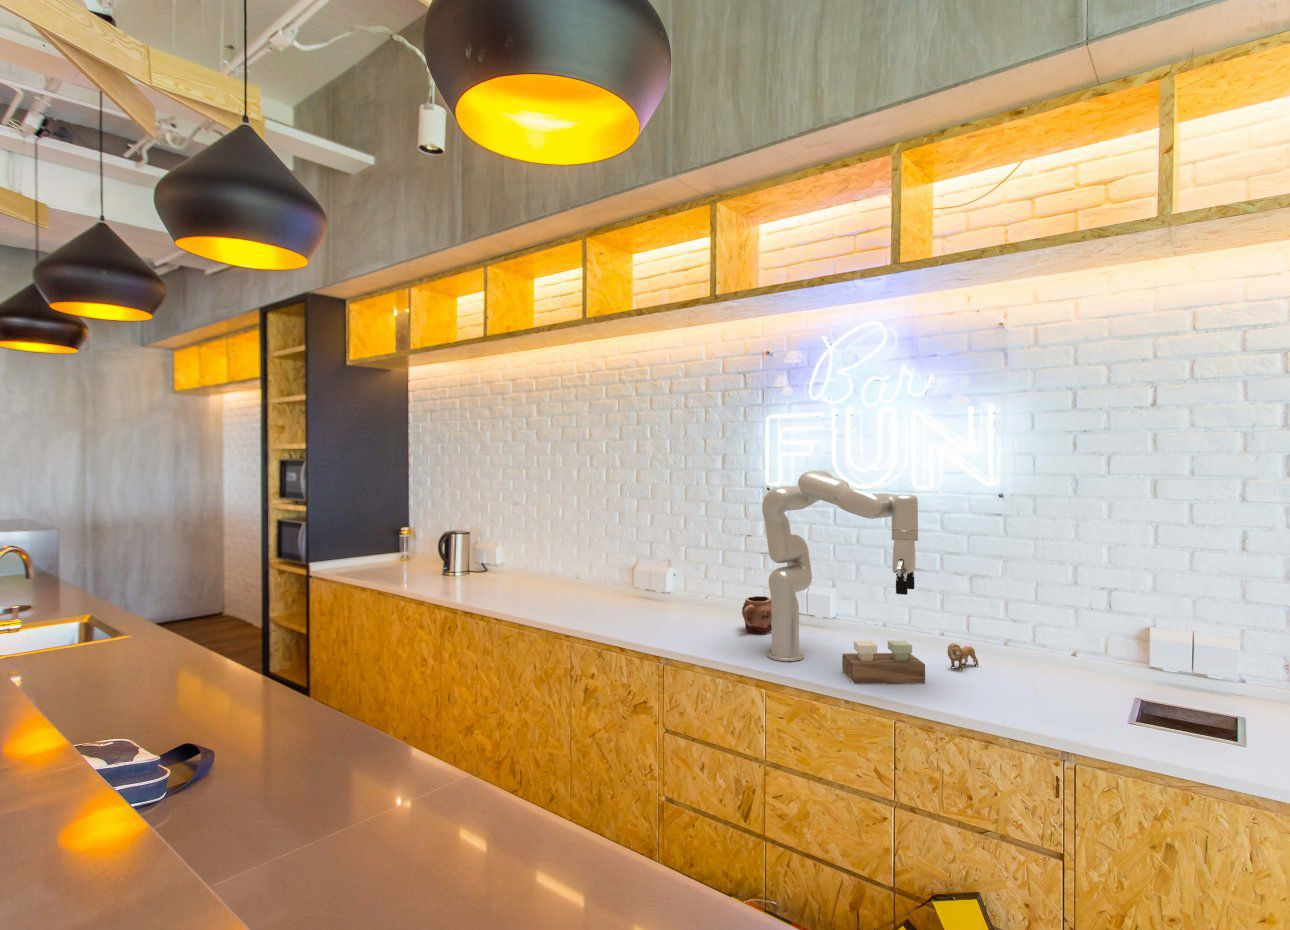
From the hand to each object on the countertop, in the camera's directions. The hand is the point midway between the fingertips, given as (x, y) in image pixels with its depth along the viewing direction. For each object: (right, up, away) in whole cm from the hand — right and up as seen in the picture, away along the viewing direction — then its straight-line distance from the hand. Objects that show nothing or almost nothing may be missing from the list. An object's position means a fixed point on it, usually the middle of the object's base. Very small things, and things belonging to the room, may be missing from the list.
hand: (905, 591), depth 202 cm
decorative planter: (-34, -29, +65) cm, 79 cm away
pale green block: (+2, -25, +9) cm, 27 cm away
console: (-4, -29, +9) cm, 31 cm away
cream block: (-9, -25, +9) cm, 28 cm away
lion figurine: (+26, -29, +18) cm, 43 cm away
